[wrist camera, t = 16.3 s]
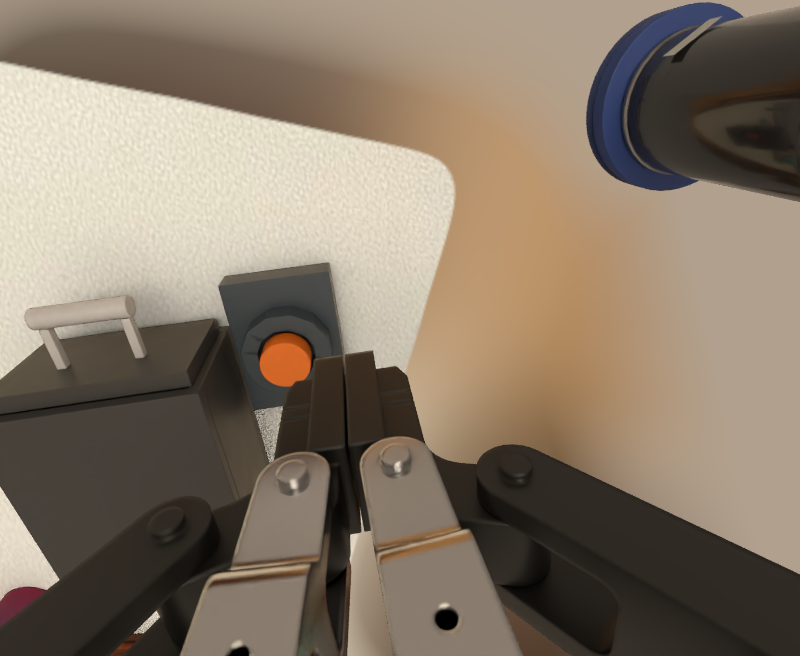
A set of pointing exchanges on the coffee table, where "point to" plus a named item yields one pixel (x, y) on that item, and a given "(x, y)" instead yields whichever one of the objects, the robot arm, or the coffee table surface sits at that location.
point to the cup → (17, 602)
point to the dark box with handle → (103, 357)
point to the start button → (285, 359)
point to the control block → (280, 320)
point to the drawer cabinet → (130, 457)
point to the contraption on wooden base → (126, 645)
